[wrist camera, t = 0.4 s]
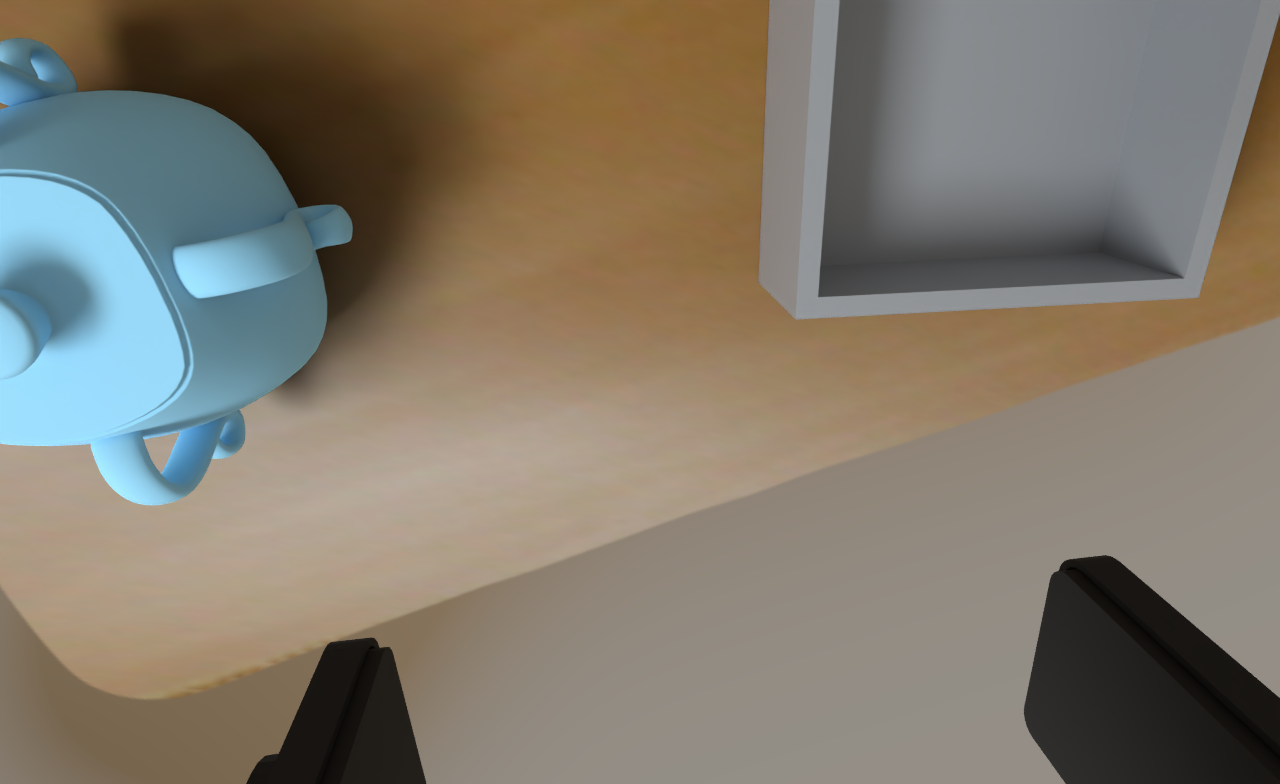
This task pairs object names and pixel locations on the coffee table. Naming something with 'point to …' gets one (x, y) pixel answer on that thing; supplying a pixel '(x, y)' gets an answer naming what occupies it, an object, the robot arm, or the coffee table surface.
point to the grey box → (1000, 149)
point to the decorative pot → (144, 274)
